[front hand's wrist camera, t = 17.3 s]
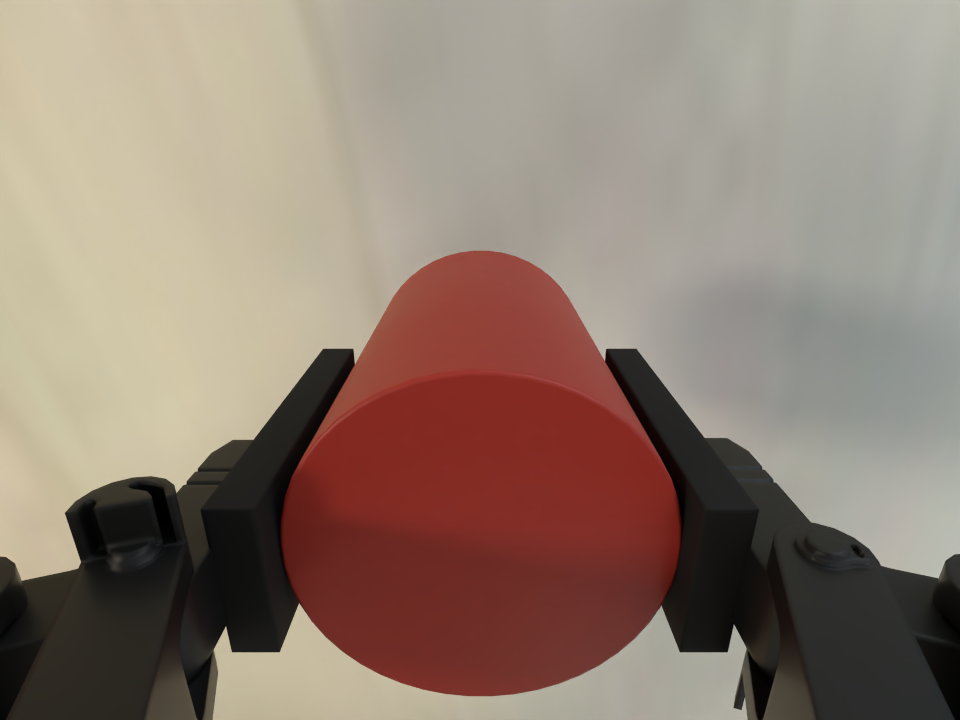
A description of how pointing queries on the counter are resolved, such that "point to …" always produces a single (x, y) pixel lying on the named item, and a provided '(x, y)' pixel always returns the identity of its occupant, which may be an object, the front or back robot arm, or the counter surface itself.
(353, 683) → the counter surface
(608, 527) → the canister
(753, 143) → the counter surface
